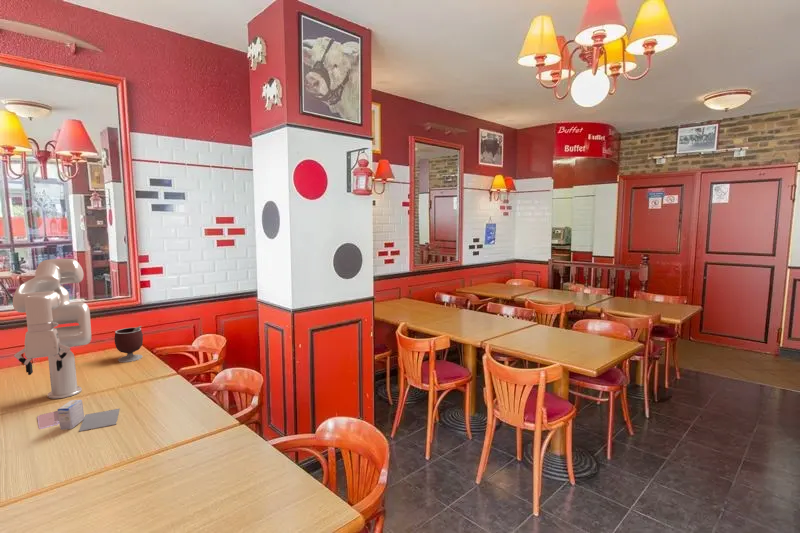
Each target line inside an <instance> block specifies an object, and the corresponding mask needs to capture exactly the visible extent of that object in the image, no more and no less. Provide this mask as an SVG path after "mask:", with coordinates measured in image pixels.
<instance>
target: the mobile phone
mask: <svg viewBox="0 0 800 533" xmlns="http://www.w3.org/2000/svg"><path fill="white" fill-rule="evenodd" d="M37 423H38V429H39V430H43V429H48V428H51V427H55V426H58V424H59V425H60V423H59V416H58V410H55V411H51V412H47V413H42V414H39V415H37ZM54 425H55V426H54ZM50 426H51V427H50Z"/></svg>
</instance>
